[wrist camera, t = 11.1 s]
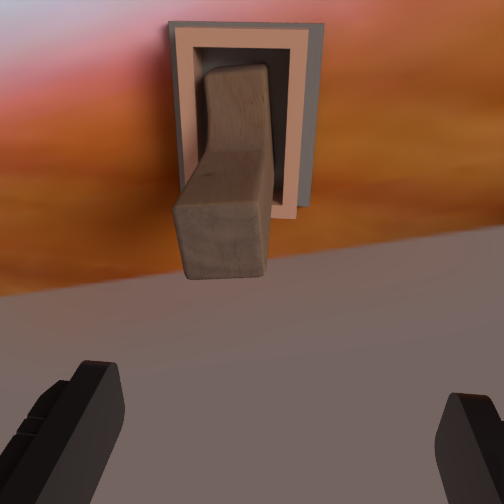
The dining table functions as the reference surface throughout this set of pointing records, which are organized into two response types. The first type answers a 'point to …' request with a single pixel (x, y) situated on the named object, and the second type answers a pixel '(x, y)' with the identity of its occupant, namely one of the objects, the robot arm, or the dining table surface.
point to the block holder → (281, 94)
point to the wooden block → (230, 180)
